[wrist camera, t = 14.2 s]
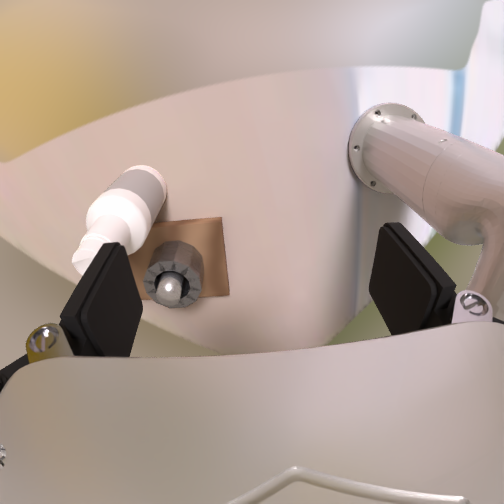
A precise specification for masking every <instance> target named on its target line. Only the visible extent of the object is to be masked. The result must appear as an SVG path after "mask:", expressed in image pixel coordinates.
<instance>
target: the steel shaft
mask: <svg viewBox="0 0 504 504" xmlns="http://www.w3.org/2000/svg"><path fill="white" fill-rule="evenodd" d="M183 280H184V275H183V274H181V273H178V272H175V271H163V272H162V275H161V279H160V282H159V285H158V289H157V292H156V298H157V300H158V301H159V302H160V303H161V304H163V305H166V306H173V305H176V304H177V303H178V302H179V300H180V296H181V290H182V285H183Z"/></svg>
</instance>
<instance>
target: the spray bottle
mask: <svg viewBox="0 0 504 504" xmlns="http://www.w3.org/2000/svg"><path fill="white" fill-rule="evenodd" d="M166 194H167V189H166V183H165V181H164V179H163V177H162V176H161V175H160V174H159V173H158V171H157V170H155V169H153V168H151V167H149V166H144V165H138V166H133V167H131V168H129V169H127V170H126V171H125V172H124V173H123V174H122V175H120V176H119V177H118V178H117V179H116V180H115V181H114V182H113V183H112V184H111V185H110V186H109V187H108V188H107V189H106V190H105V191H104V192H103V193H102V194H101V195H100V196H99V197H98V198H97V199H96V200H95V202H94V203H93V204H92V205H91V206H90V208H89V210H88V213H87V216H86V228H87V233H86V235H85V236H84V237H83V238H82V240H81V242H80V245H79V248H78V249H77V251H76V252H75V253H74V255H73V258H72V264H73V265H74V266H75V268H76V269H77V270H78V272H79V273H80V274H81V275H82V276H83V275H84V273H85V271H86V270H87V268H88V266H89V265H90V263H91V262H92V260H93V259H94V257H95V255H96V254H97V252H98V251H99V249H100V248H101V246H102V245H103V244H104V243H111V242H119V243H120V245H123V246H124V247H125V249H126V252H127V255H130V254H132V253H135V252H136V251H137V250H138V249H139V248H140V247H142V245H143V243H144V242H145V240H146V238H147V236H148V234H149V231H150V229H151V227H152V225H153V223H154V221H155V219H156V217H157V215H158V213H159V211H160V209H161V207H162V205H163V203H164V201H165V199H166Z"/></svg>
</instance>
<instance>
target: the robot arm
mask: <svg viewBox="0 0 504 504" xmlns="http://www.w3.org/2000/svg"><path fill="white" fill-rule="evenodd" d="M375 111H376V112H377V113H376V114H375ZM411 116H412V117H411ZM355 145H356V148H355V149H354V146H355ZM349 158H350V162H351V165H352V168H353V170H354V172H355V174H356V175H357V176H358V178H359V179H360V180H361V181H362V182H363V183H364V184H365V185H366V186H368V187H369V188H370V189H372V190H375V191H377V192H380V193H385V194H395V195H396V196H397V197H399V198H400V199H401V200H402V201H403V202H405V203H406V204H407V205H408V206H409V207H410V208H411V209H413V210H414V211H415V212H416V213H417V214H418V215H419V216H420V217H421V218H423V219H424V220H425V221H426V222H427V223H428V224H429V225H430V226H431V227H433V228H434V229H435V230H436V231H437V232H438V233H439V234H440V235H441V236H443V237H444V238H445V239H447V240H449V241H451V242H453V243H456V244H460V245H479V244H483V247H482V251H481V254H480V257H479V259H478V262H477V264H476V268H475V271H474V273H473V276H472V278H471V280H470V282H469V284H468V286H467V289H466V290H464V291H461V292H459V293H458V294H456V293H455V291H454V290H455V288H456V284H455V283H454V282H453V280H452V279H451V278H450V277H449V276H448V275H447V273H446V272H445V271H444V270H443V269H442V267H441V266H440V265H439V264H438V263H437V262H436V261H435V260H434V258H433V257H432V256H431V255H430V254H429V253H428V252H427V251H426V250H425V248H424V247H423V246H422V245H421V244H420V243H419V242H418V241H417V240H416V239H415V238H414V237H413V236H412V234H411V233H410V232H409V231H408V230H407V229H406V228H405V227H404V226H403V225H402V224H401V223H399V222H397V223H385V224H384V226H383V227H381V228H380V230H379V235H378V241H377V247H376V253H375V258H374V263H373V269H372V274H371V279H370V283H369V292H370V295H371V297H372V299H373V300H374V302H375V304H376V306H377V308H378V310H379V312H380V314H381V315H382V317H383V319H384V321H385V323H386V325H387V327H388V329H389V331H390V333H391V335H392V336H386V337H381V338H375V339H369V340H363V341H357V342H350V343H343V344H337V345H328V346H320V347H312V348H304V349H295V350H285V351H275V352H263V353H251V354H236V355H219V356H198V357H130V353H131V349H132V345H133V342H134V339H135V335H136V332H137V328H138V325H139V322H140V318H141V315H142V311H143V305H142V301H141V298H140V295H139V292H138V288H137V285H136V282H135V279H134V276H133V272H132V269H131V266H130V262H129V259H128V255H127V252H126V249H125V247H124V246H123V245H120V243H119V242H111V243H104V244H103V245H102V246H101V248H100V249H99V251H98V252H97V254H96V255H95V257H94V259H93V260H92V262H91V263H90V265H89V266H88V268H87V270H86V271H85V273H84V275H83V276H82V278H81V280H80V281H79V283H78V285H77V286H76V288H75V290H74V291H73V293H72V295H71V297H70V299H69V300H68V302H67V304H66V306H65V307H64V309H63V311H62V313H61V315H60V318H61V321H60V323H59V325H58V324H55V323H48V324H44V325H41V326H39V327H38V328H36V329H35V330H34V331H33V332H32V333H31V334H30V335H29V337H28V339H27V341H26V351H27V354H26V355H24V356H22V357H21V358H19V359H18V360H16V361H14V362H13V363H11V364H10V365H8V366H6V367H5V368H3V369H2V370H0V504H504V155H502V154H500V153H497V152H495V151H492V150H490V149H488V148H485V147H483V146H481V145H479V144H476V143H474V142H471V141H469V140H467V139H464V138H462V137H459V136H457V135H454V134H452V133H449V132H446V131H444V130H441V129H438V128H436V127H433V126H430V125H427V124H425V122H424V121H423V119H422V118H421V117H420V116H419V115H418V113H416V112H415V111H414V110H412V109H411V108H409V107H407V106H405V105H401V104H397V103H382V104H379V105H376V106H373V107H372V108H370V109H368V110H367V111H366V112H365V113H364V114H363V115H361V117H360V118H359V119H358V121H357V122H356V123H355V125H354V128H353V130H352V132H351V136H350V140H349ZM371 181H372V182H371Z"/></svg>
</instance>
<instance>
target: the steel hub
mask: <svg viewBox="0 0 504 504" xmlns="http://www.w3.org/2000/svg"><path fill="white" fill-rule="evenodd" d="M163 271H175V272H178V273H181V274H183V275H184V276H185V277H184V280H183V285H182V290H181V296H180V300H179V302H178V303H177V304H176V305H173V306H166V305H163V304H161V303H160V302H159V301H158V300H157V298H156V292H157V289H158V285H159V282H160V279H161V275H162V272H163ZM203 274H204V263H203V257H202V255H201V254H200V253H199V252H198V250H197V249H196V248H195V247H194V246H193V245H190V244H188V243H185V242H183V241H180V240H177V241H165V242H164V243H163V244H161V245H160V246H158V247H157V248H155V250H154V252H153V255H152V257H151V260H150V263H149V265H148V268H147V271H146V274H145V276H144V279H143V283H144V287H145V290H146V293H147V294H148V295H149V296H150V297H151V298H152V299H153V300H154V301H155V302H156V303H158V304H161V305H163V306H166V307H169V308H182V307H186V306H188V305H190V304H192V303H193V302H195V301H196V300H197V298H198V296H199V294H200V293H201V291H202V283H203Z"/></svg>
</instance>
